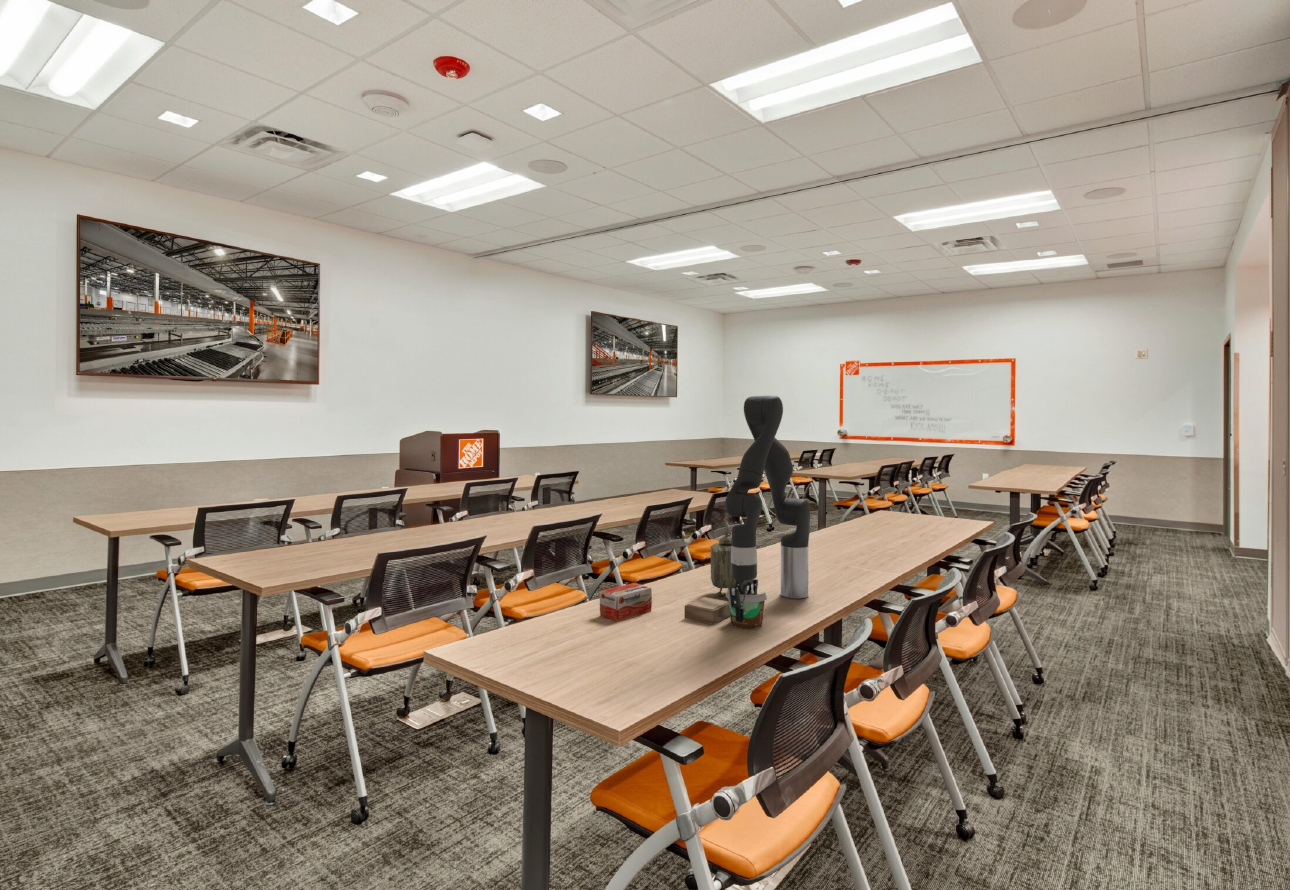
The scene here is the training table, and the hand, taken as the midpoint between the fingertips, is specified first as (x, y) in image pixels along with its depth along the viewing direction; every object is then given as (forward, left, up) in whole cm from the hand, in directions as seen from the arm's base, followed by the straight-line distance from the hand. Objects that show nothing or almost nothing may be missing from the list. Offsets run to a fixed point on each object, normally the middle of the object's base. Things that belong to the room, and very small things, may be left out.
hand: (744, 618), depth 190 cm
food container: (+1, 0, -2) cm, 3 cm away
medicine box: (+10, -36, -3) cm, 37 cm away
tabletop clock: (-25, -20, -2) cm, 32 cm away
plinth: (-1, -13, -2) cm, 13 cm away
